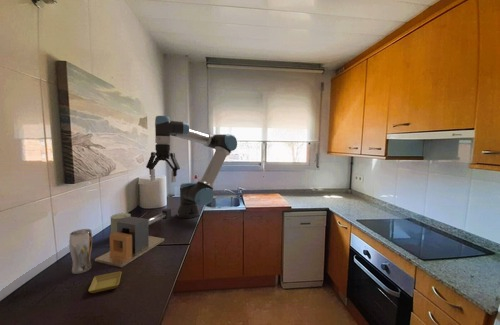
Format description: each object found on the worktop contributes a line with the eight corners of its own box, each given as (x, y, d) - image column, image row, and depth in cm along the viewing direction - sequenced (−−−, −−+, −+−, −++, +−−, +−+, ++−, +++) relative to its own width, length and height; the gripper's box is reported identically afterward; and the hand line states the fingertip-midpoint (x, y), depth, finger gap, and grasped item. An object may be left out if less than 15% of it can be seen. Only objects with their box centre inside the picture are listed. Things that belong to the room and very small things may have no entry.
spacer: (116, 251, 96) (115, 231, 95) (132, 254, 93) (131, 234, 93) (109, 254, 93) (109, 234, 92) (126, 257, 90) (126, 237, 90)
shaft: (166, 216, 124) (166, 208, 124) (171, 217, 123) (171, 208, 123) (128, 234, 98) (128, 224, 98) (133, 235, 98) (133, 224, 97)
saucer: (87, 297, 69) (87, 291, 69) (94, 281, 77) (94, 275, 77) (118, 290, 72) (118, 284, 72) (122, 276, 80) (122, 270, 80)
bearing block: (142, 236, 114) (142, 210, 113) (164, 240, 110) (164, 214, 109) (94, 261, 89) (94, 228, 88) (121, 267, 85) (121, 233, 84)
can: (121, 241, 107) (121, 218, 107) (106, 239, 109) (105, 216, 108) (134, 234, 116) (134, 212, 116) (120, 232, 118) (120, 211, 117)
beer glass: (74, 266, 85) (72, 229, 84) (95, 263, 88) (94, 227, 86) (67, 276, 78) (65, 237, 77) (90, 272, 81) (89, 234, 80)
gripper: (139, 143, 119) (139, 180, 121) (178, 144, 113) (178, 183, 115) (148, 143, 126) (148, 178, 128) (186, 144, 120) (186, 181, 122)
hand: (163, 181), depth 121 cm, fingers open, 13 cm apart
